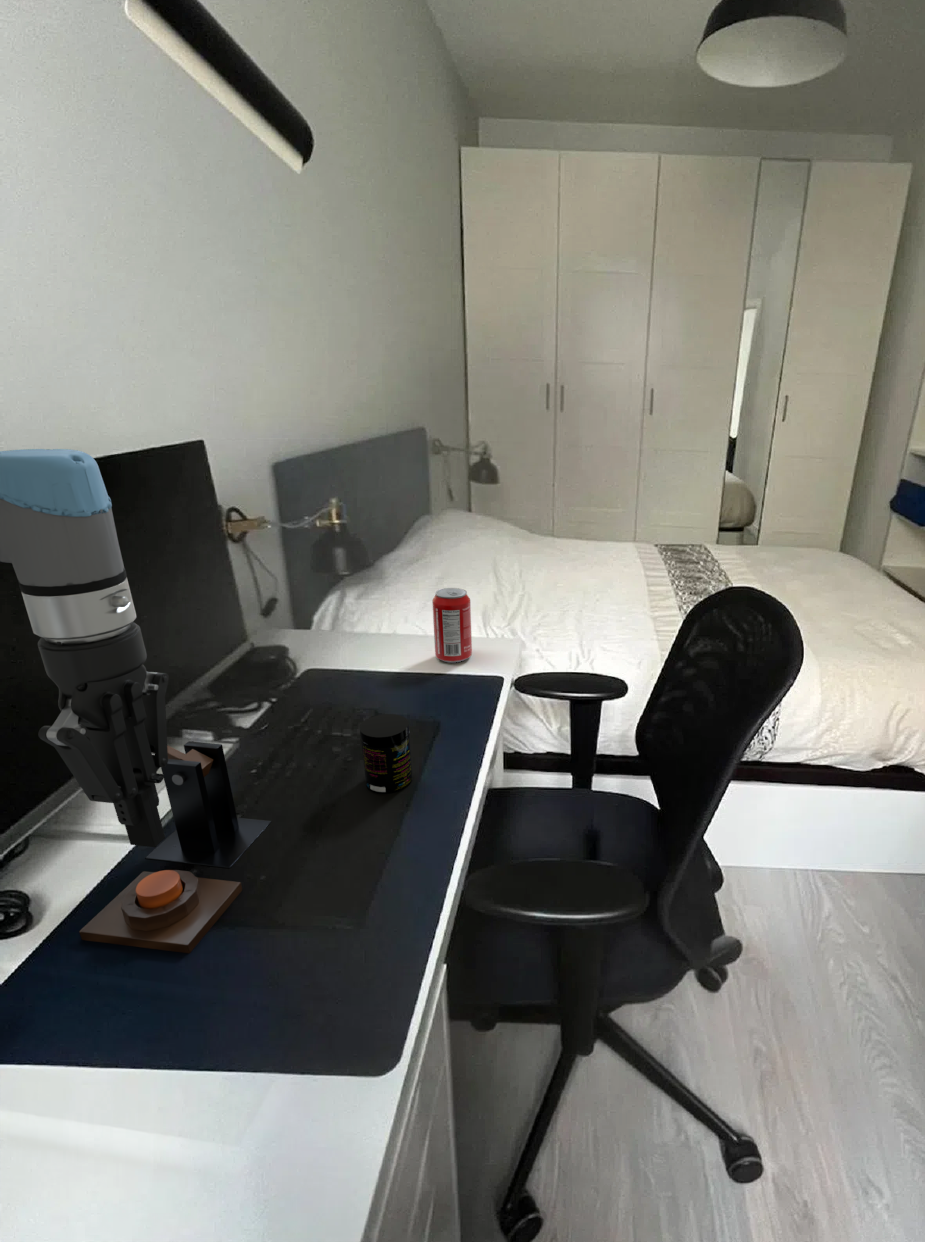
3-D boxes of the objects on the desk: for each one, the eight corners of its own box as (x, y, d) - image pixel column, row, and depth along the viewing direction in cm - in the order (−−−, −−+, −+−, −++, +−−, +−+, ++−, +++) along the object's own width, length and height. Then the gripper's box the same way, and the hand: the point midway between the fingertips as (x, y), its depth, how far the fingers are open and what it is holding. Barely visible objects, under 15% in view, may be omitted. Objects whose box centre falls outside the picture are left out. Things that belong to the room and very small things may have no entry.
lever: (72, 736, 74) (75, 720, 73) (113, 711, 80) (117, 697, 79) (186, 792, 76) (191, 778, 75) (218, 765, 81) (223, 751, 80)
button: (129, 907, 68) (126, 894, 67) (157, 880, 72) (153, 867, 71) (165, 911, 68) (161, 898, 67) (191, 884, 71) (187, 871, 71)
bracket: (146, 865, 79) (119, 769, 73) (195, 819, 87) (175, 730, 82) (231, 875, 78) (210, 778, 72) (273, 828, 86) (257, 738, 81)
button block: (84, 947, 67) (73, 918, 66) (147, 885, 76) (139, 858, 74) (191, 961, 66) (184, 931, 65) (244, 896, 75) (238, 869, 73)
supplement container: (420, 776, 98) (416, 716, 94) (403, 802, 92) (397, 739, 88) (378, 771, 99) (372, 711, 95) (358, 797, 93) (350, 734, 89)
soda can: (446, 668, 135) (443, 600, 129) (428, 656, 141) (425, 590, 135) (478, 659, 140) (477, 593, 134) (460, 648, 145) (458, 584, 140)
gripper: (65, 660, 52) (134, 890, 60) (178, 608, 64) (221, 806, 72) (-20, 654, 52) (60, 882, 61) (107, 603, 64) (159, 800, 73)
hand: (148, 841), depth 67 cm, fingers closed
